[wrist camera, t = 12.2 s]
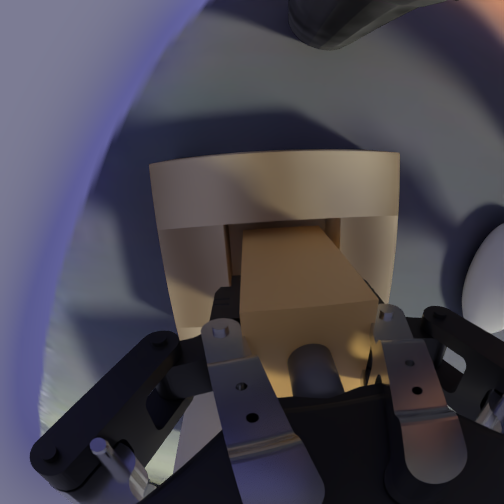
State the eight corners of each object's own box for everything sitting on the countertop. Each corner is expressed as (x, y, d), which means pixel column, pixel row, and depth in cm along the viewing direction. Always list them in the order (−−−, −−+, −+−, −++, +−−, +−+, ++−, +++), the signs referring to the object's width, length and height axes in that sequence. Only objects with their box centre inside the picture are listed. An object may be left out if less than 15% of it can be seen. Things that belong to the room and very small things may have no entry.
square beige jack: (363, 149, 17) (399, 152, 12) (355, 312, 21) (378, 352, 17) (174, 159, 17) (148, 164, 13) (197, 324, 21) (187, 369, 17)
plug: (318, 225, 15) (408, 339, 6) (317, 292, 17) (375, 433, 7) (242, 230, 15) (237, 360, 6) (248, 297, 17) (250, 451, 7)
